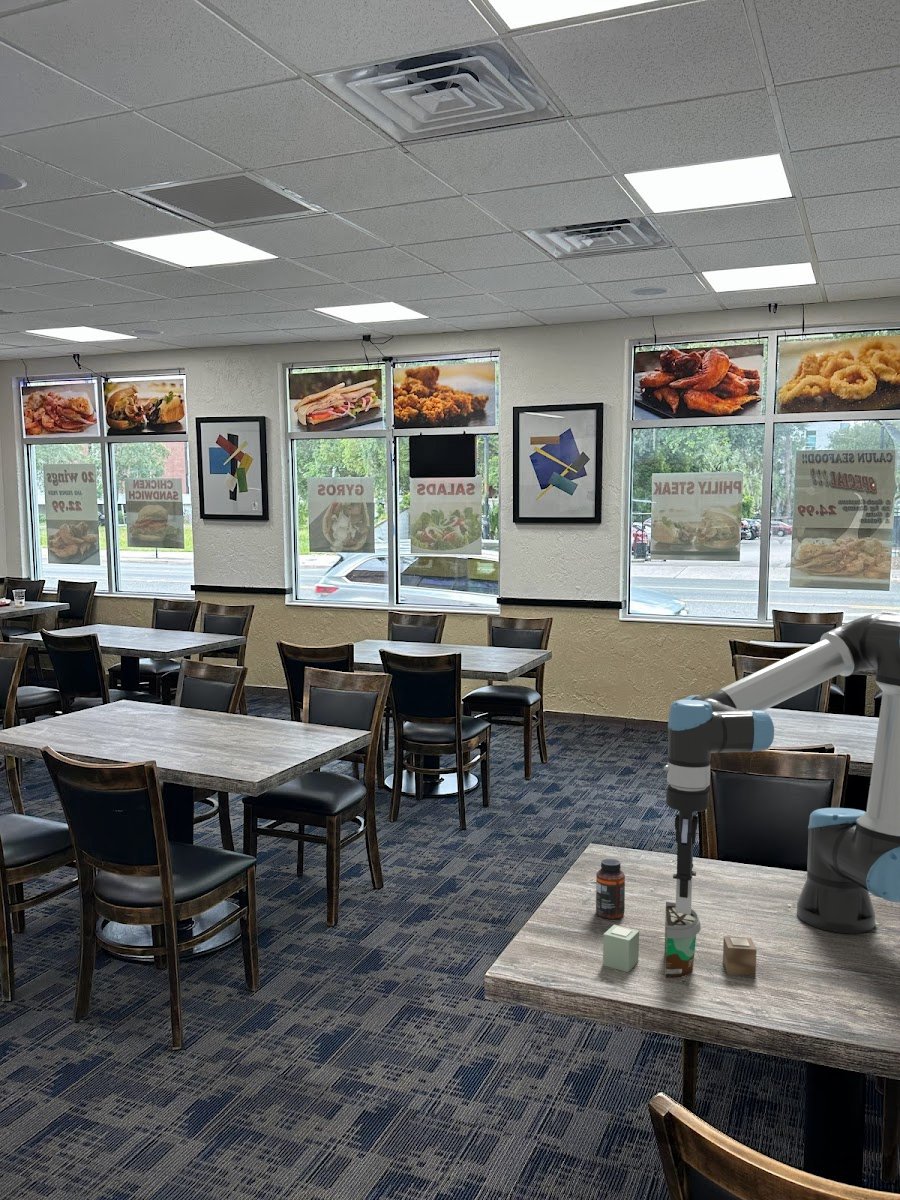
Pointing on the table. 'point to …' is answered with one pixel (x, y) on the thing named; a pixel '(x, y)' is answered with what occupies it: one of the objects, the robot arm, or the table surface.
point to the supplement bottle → (610, 890)
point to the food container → (680, 941)
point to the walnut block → (739, 956)
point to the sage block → (621, 948)
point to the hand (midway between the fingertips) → (683, 911)
